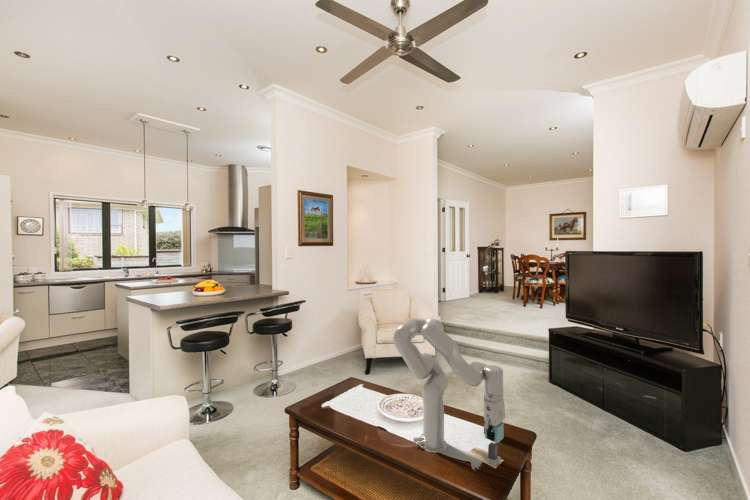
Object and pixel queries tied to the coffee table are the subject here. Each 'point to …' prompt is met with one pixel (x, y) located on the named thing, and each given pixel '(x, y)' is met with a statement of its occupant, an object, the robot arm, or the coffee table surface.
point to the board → (482, 456)
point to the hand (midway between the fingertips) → (494, 436)
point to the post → (493, 454)
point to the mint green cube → (497, 432)
